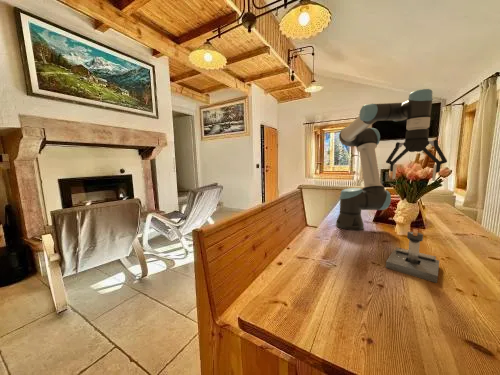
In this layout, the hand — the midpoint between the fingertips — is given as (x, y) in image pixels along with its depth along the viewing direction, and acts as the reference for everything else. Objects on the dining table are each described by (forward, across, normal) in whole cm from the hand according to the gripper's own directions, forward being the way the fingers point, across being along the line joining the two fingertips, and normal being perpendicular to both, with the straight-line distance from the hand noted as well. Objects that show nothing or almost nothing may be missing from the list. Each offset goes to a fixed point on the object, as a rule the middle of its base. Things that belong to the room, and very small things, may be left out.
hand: (412, 179), depth 87 cm
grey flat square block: (+31, +4, -20) cm, 37 cm away
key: (+31, +4, -20) cm, 37 cm away
